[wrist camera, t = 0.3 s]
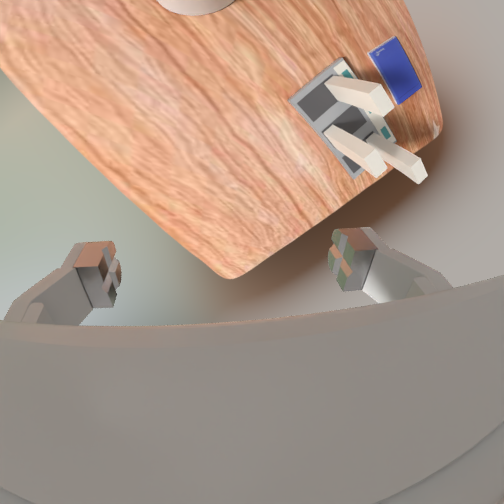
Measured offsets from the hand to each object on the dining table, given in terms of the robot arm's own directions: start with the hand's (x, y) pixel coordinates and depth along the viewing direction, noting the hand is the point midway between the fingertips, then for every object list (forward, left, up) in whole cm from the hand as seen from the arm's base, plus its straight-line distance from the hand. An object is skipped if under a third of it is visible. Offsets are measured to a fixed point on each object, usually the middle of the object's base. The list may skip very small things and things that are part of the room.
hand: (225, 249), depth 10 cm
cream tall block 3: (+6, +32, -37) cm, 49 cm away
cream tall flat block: (+5, +23, -37) cm, 44 cm away
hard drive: (-10, +36, -40) cm, 55 cm away
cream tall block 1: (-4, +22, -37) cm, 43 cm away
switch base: (+2, +26, -39) cm, 47 cm away
